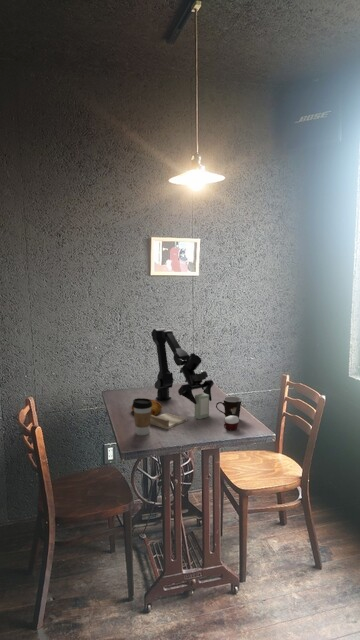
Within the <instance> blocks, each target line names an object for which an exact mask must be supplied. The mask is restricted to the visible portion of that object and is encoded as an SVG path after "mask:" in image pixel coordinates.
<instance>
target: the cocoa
mask: <svg viewBox="0 0 360 640" xmlns="http://www.w3.org/2000/svg"><path fill="white" fill-rule="evenodd" d="M240 404H242V400H241V401H238V404H237V408H236V412H235V416H232V415H230V416H228V417H226V418H224V424H223V428H224V429H226V430H228V431H235V430H237V429H238V426H239V422H240V417H239V418H238V417H237V415H238V411H239V407H240Z"/></svg>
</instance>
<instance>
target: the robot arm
mask: <svg viewBox="0 0 360 640" xmlns="http://www.w3.org/2000/svg"><path fill="white" fill-rule="evenodd" d="M150 334H151V337H152V341H153V342H154V344H155V345H156V354H157V360H158V369H159V371H158V374H157V377H156V378H157V380H156V381H155V383H154V388H155V389H156V390H157V393H156V394H157V396H156V397H155V399H156V400H160V401H164V402H165V401H167V400H170V399H172V397H171V396H170V389H172V388H173V384H174V375H173V372H171V371H170V370H169V366H168V365H169V364H168V356H167V349H166V343H167V344H168V347H169V349H170V350H171V352H172V354H173V361H174V363H175V366H177V367H180V366H181V367H180V369H179V374H182V375H183V376H184V378H185V380H184V382H185V383H187V384H182V385H181V386H180V387H179V388H178V389H177V393H178V395H179V396H182V397H184V398H186V399H187V400H189V401H190V402H191V403H192V404H194V405H195V404H197V403H196V400H195V395H194V394H193V390H198V389H202V391H203V393H205V394H208V395H209V402H211V401H212V393H211V392H212V391H211V389H212V387H213V386H214V385H215V383H214V380H212V379H207V378H208V376H209V375H208V372H207V371H206V370H205V371H202V372H200V373H196V372H195V370H197V369H198V368H199V366H200V365H201V363H202V358H201V356H199V355H197V354H196V353H195V352H192V353H190V354H189V353H188V352H187V351H185V350H184V349H182V347H181V345H180V344H179V342H178V340H177V339H176V337H175V335H174V332H173V331H172V330H171V329H166V328H164V327H163V328H162V327H160V328H153V330H152V331H151V333H150Z"/></svg>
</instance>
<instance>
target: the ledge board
mask: <svg viewBox="0 0 360 640" xmlns="http://www.w3.org/2000/svg"><path fill="white" fill-rule="evenodd" d="M185 422H187V418H185V417H183V416H178V415H174V414H171V413H167V412H165V413H163V414H160V415H155V416H154V415H151V420H150V425H153V426H154V427H155V426H156V427H159V428H162V429H165V430H169V429H171V428H173V427H175V426H178V425H180V424H182V423H185Z"/></svg>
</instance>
